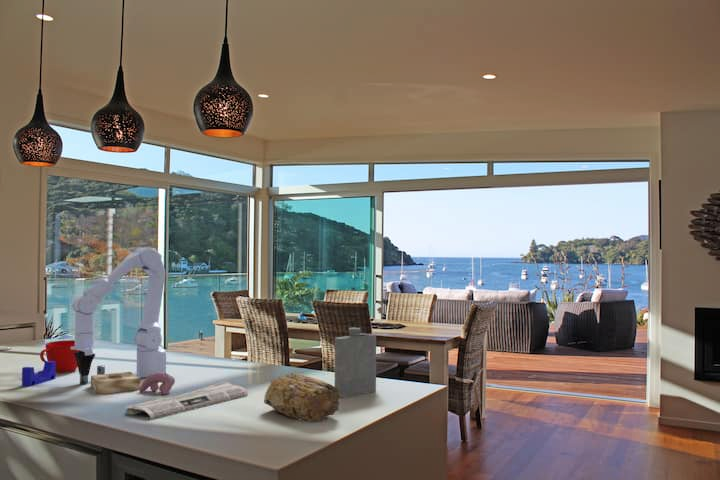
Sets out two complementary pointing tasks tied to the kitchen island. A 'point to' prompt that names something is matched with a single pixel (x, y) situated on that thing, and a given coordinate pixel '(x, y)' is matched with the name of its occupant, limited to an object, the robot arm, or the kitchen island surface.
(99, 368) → the short pin
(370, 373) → the hip flask
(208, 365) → the kitchen island surface
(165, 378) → the pink textured arched piece
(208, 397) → the newspaper
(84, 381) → the long pin
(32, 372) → the cable clip
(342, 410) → the kitchen island surface
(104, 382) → the bore block
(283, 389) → the petrified wood
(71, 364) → the ceramic cup
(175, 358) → the kitchen island surface
